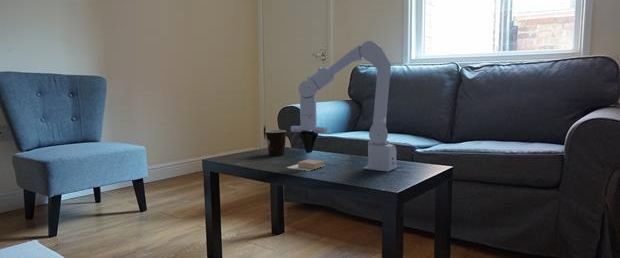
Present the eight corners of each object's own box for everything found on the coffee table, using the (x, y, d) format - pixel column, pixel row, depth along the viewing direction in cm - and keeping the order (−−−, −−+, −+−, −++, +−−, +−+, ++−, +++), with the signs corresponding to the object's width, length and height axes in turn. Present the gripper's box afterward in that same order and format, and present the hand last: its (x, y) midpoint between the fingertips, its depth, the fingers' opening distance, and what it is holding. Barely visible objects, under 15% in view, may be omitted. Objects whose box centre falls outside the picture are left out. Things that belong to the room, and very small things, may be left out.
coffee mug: (267, 153, 195) (266, 130, 194) (287, 152, 195) (286, 129, 194) (264, 158, 183) (263, 133, 182) (285, 157, 183) (285, 133, 182)
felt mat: (325, 166, 166) (325, 165, 166) (309, 171, 158) (309, 170, 157) (302, 163, 171) (302, 162, 171) (286, 168, 163) (286, 167, 163)
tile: (323, 161, 163) (307, 159, 167) (314, 164, 158) (298, 162, 162) (323, 166, 164) (307, 164, 168) (314, 169, 159) (298, 167, 163)
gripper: (285, 114, 162) (286, 152, 164) (318, 116, 154) (319, 156, 156) (297, 113, 168) (297, 149, 170) (330, 114, 160) (330, 152, 161)
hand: (309, 152), depth 163 cm, fingers closed
